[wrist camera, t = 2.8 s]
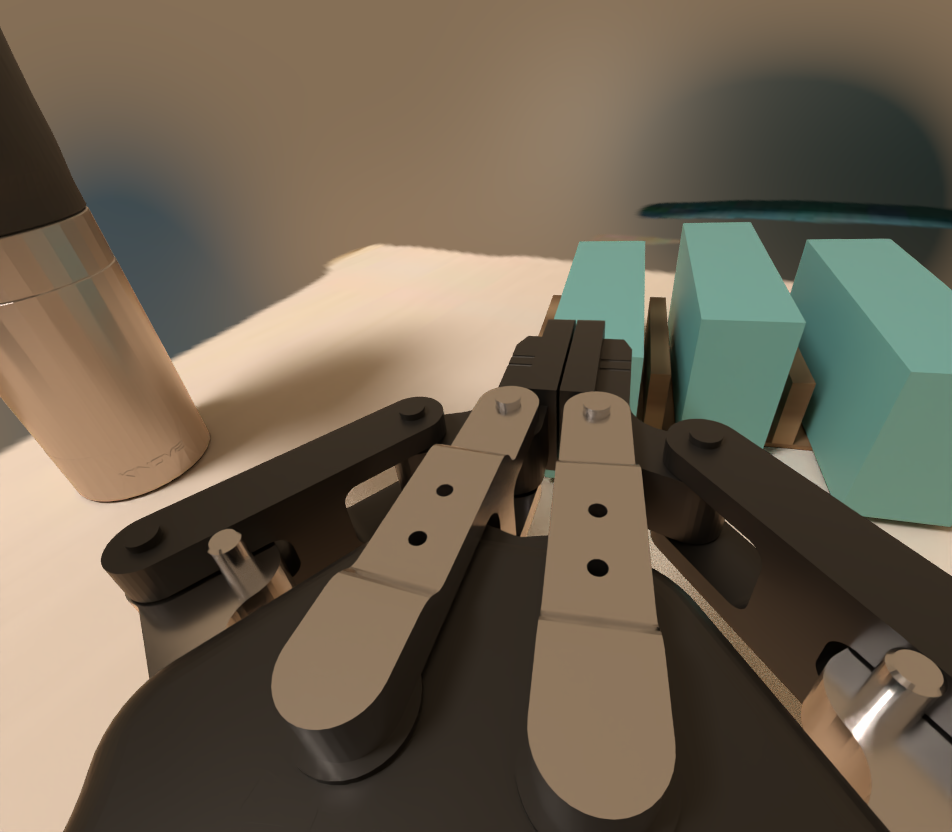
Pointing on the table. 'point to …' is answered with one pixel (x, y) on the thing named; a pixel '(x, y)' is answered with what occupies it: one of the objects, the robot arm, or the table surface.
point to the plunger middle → (730, 329)
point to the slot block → (659, 391)
